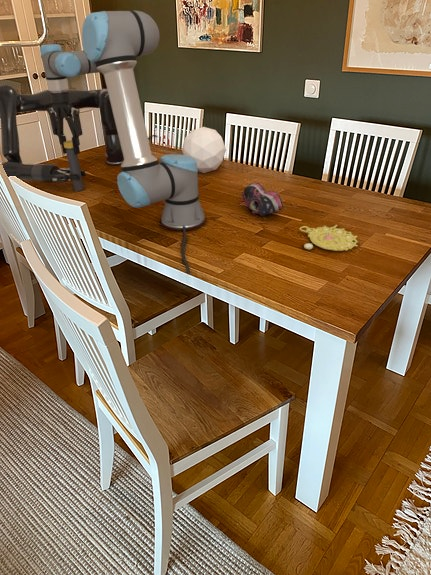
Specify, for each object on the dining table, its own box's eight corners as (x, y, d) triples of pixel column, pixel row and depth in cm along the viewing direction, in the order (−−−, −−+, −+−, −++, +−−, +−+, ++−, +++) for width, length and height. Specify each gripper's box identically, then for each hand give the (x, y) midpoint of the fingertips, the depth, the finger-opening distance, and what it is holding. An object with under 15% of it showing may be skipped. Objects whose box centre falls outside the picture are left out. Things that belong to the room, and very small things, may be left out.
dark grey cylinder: (71, 190, 187) (62, 145, 177) (78, 187, 190) (69, 142, 180) (79, 191, 185) (69, 146, 175) (86, 188, 188) (77, 143, 178)
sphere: (210, 188, 203) (207, 161, 184) (176, 167, 208) (170, 139, 189) (234, 159, 208) (234, 131, 189) (200, 139, 213) (197, 110, 194)
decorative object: (343, 255, 128) (285, 234, 139) (342, 262, 130) (284, 241, 140) (372, 230, 142) (317, 213, 152) (371, 237, 143) (316, 219, 153)
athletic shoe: (254, 181, 170) (227, 189, 167) (283, 176, 151) (253, 185, 147) (260, 210, 173) (234, 218, 170) (290, 209, 154) (261, 219, 150)
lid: (61, 147, 177) (60, 142, 176) (70, 144, 181) (70, 139, 180) (69, 149, 175) (68, 144, 174) (79, 146, 178) (78, 141, 177)
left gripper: (33, 169, 179) (71, 171, 176) (52, 159, 191) (88, 161, 187) (38, 187, 183) (75, 190, 180) (56, 176, 195) (91, 178, 191)
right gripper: (85, 90, 167) (95, 152, 180) (46, 88, 172) (59, 149, 185) (73, 93, 161) (85, 157, 174) (33, 92, 166) (47, 154, 179)
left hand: (82, 175), depth 184 cm, fingers closed on dark grey cylinder, 4 cm apart
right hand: (71, 153), depth 179 cm, fingers open, 5 cm apart
